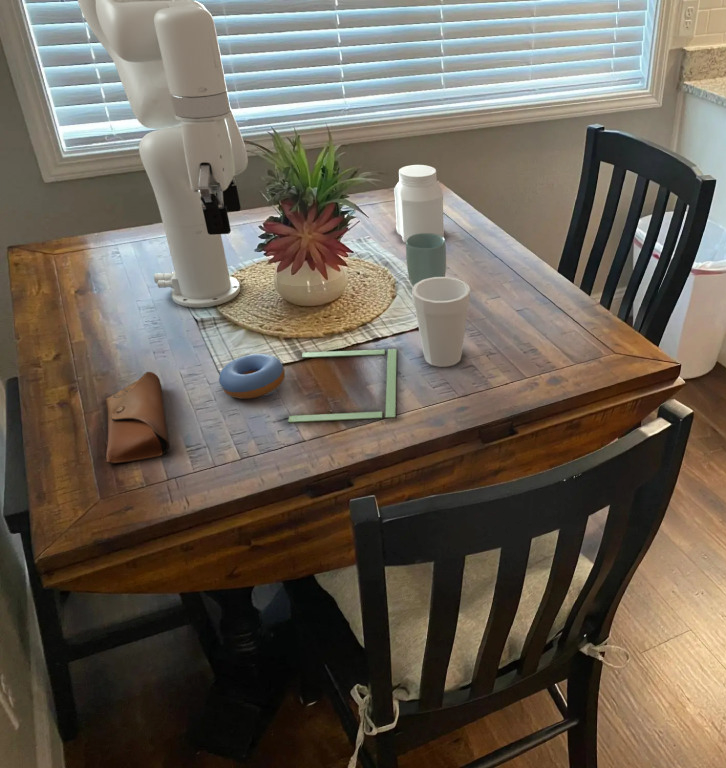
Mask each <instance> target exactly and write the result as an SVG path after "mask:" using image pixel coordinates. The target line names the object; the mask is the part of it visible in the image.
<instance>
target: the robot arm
mask: <svg viewBox="0 0 726 768" xmlns="http://www.w3.org/2000/svg"><path fill="white" fill-rule="evenodd" d="M77 3H78V5H79V9H80V10H81V13H82V15H83V17H84V19H85V21H86V23H87V25H88V27H89V28H90V29H91V33H92V34H93V35H94V36H95V37H96V39H97V40H98V42H99V43H100V45H102V47H103V49H104V50H105V51H106V52H107V53H108V55H109V56H110V58H111V60H112V62H113V63H114V67H115V68H116V71H117V74H118V77H119V79H120V82H121V84H122V87H123V90H124V93H125V95H126V97H127V101H128V103H129V105H130V106H129V107H130V109H131V111H132V113H133V114H134V117H135V119H136V120H137V121H138V123H140V124H141V125H142V126H143V127H145V128H147V129H151V130H153V131H150V132H148V133H146V134H145V135H144V136H143V137H142V138H141V139H140V142H139V144H138V152H139V157H140V160H141V163H142V166H143V168H144V170H145V172H146V175H147V178H148V179H149V182H150V185H151V187H152V190H153V193H154V196H155V200H156V203H157V206H158V211H159V214H160V218H161V222H162V225H163V229H164V230H163V231H164V234H165V238H166V242H167V246H168V250H169V254H170V258H171V261H172V266H173V270H174V271H171V273H165V272H164V273H162V272H161V273H154V275H153V280H154V283H155V284H157V287H158V288H159V289H167V288H170V289H171V292H170V295H171V299H172V301H173V302H174V303H175V304H178V305H179V306H181V307H182V306H183V307H185V308H193V309H194V308H196V309H198V308H210V307H216V306H219V305H222V304H225V303H227V302H229V301H232V300H233V299H235V298H236V297H237V296H238V295H239V293H240V292H241V286H240V282H239V281H238V279H237V278H235V277H233V276H231V275H230V272H229V267H228V262H227V257H226V253H225V247H224V246H225V245H224V242H223V238H222V235H229V234H230V233H231V231H232V230H231V229H232V228H231V224H230V219H229V215H228V213H229V212H230V213H232V212H233V213H234V212H240V211H241V209H242V206H241V203H240V195H239V192H238V187H237V184H236V177H235V176H237V175H241V174H242V173H244V172H245V171H246V169H247V167H248V162H249V156H248V152H247V151H248V150H247V148H246V145H245V144H246V143H245V142H244V139H243V136H242V133H241V131H240V127H239V125H238V123H237V120H236V118H235V115H234V112H233V110H232V108H231V104H230V99H229V93H228V88H227V83H226V76H225V72H224V67H223V61H222V55H221V50H220V45H219V44H220V43H219V40H218V33H217V28H216V23H215V20H214V17H213V15H212V13H211V12H210V11H209V10H208V9H207V7H205V6H204V4H202V3H201V2H199V1H197V0H77Z"/></svg>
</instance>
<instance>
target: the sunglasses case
mask: <svg viewBox="0 0 726 768" xmlns="http://www.w3.org/2000/svg"><path fill="white" fill-rule="evenodd" d="M105 403H106V409H107V443H106V445H107V447H106V454H105V455H106V456H105V457H106V458H105V459H106V463H109V464H113V465H114V464H123V463H132V462H137V461H144V460H148V459H154V458H158V457H162V456H164V455H165V454H166V453H167V452H168V451H169V449H170V440H169V432H168V425H167V419H166V412H165V405H164V395H163V387H162V384H161V380H160V378H159V376H158V375H157V374H156V373H154V372H152V371H146V372H145V373H143V375H142V376H141V377H140V378H139V379H137V380H136V381H134V382H132V383H131V384H129V385H127V386H126V387H124V388H122V389H120V390H118V391H117V392H115V393H114V394H112V395H111V396H109V397H106V399H105Z"/></svg>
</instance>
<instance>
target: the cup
mask: <svg viewBox="0 0 726 768" xmlns="http://www.w3.org/2000/svg"><path fill="white" fill-rule="evenodd" d="M405 256H406V257H405V258H406V259H405V260H406V269H407V274H408V279H409V281H410V284H411V285H412V286H413V287H414V285H415V284H416V283H418V282H420V281H421V280H424V279H428V278H432V277H446V273H447V243H446V239H445V236H444V237H442V236H440V235H437V234H431V233H421V234H415V235H412V236H410V237H409V238H408V239H407V240H406V243H405ZM413 287H412V288H413Z"/></svg>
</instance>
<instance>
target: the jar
mask: <svg viewBox="0 0 726 768" xmlns="http://www.w3.org/2000/svg"><path fill="white" fill-rule="evenodd" d="M393 194H394V204H395V205H394V206H395V221H396V223H395V224H396V226H395V227H396V229H395V230H396V233H397V234H398V235H400V236H401V238H402V241H403V243H404V244H406V240H407V239H408V238H409V237H410V236H412V235H415V234H421V233H431V234H437V235H440V236H442V237H444V238H445V230H444V228H445V227H444V226H445V225H444V224H445V223H444V192H443V189H442V187H441V185H440V183H439V182H438V179H437V169H436V168H435V167H433V166H430V165H426V164H412V165H410V164H409V165H406V166H402V167H401V168H399V170H398V182H397V184H396V185H395V186H394V188H393Z"/></svg>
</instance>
